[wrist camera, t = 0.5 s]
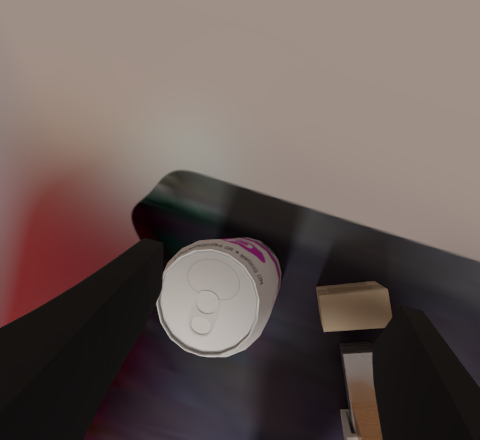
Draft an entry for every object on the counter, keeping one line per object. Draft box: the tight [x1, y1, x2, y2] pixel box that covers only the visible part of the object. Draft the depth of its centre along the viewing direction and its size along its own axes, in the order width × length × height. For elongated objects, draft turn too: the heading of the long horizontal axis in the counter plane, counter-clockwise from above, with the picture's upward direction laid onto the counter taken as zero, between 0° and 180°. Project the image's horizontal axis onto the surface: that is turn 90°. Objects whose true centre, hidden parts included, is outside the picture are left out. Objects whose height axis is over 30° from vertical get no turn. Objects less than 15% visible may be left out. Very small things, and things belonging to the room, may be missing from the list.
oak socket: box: [316, 281, 392, 332], centre depth 31 cm, size 3×6×5 cm, turn 97°
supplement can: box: [156, 237, 282, 357], centre depth 28 cm, size 8×8×15 cm
